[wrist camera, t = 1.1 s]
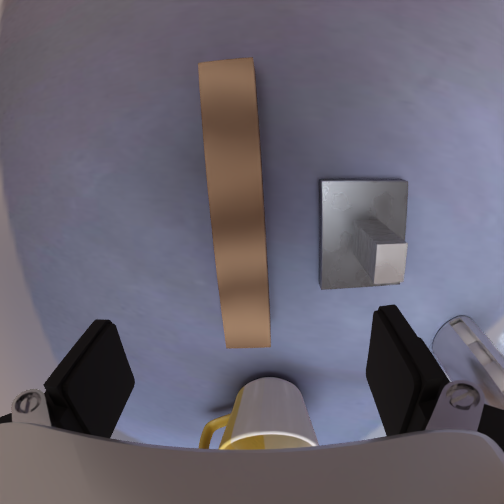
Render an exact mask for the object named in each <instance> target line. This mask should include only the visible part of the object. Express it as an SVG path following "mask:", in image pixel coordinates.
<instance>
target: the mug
mask: <svg viewBox="0 0 504 504" xmlns="http://www.w3.org/2000/svg"><path fill="white" fill-rule="evenodd" d="M224 426H226V429H225V432H224V434H223V437H222V440H221V443H220V446H219V449H224V450H257V449H284V448H299V447H311V446H319V444H318V440H317V437H316V435H315V432H314V429H313V426H312V423H311V420H310V417H309V414H308V412H307V409H306V406H305V403H304V400H303V397H302V394H301V392H300V390H299V389H298V388H297V387H296V386H295V385H294V384H292V383H290V382H288V381H286V380H283V379H280V378H276V377H264V378H260V379H257V380H254V381H251V382H249V383H248V384H246V385H245V386H244V387H243V388H242V389H241V390H240V391H239V393H238V394H237V397H236V400H235V403H234V406H233V409H232V412H231V413H230V414H228V415H225V416H222V417H219V418H216V419H214V420H212V421H210V422H208V423H207V424H206V425H205V427H204V429H203V432H202V435H201V438H200V443H199V449H209V444H210V440H211V437H212V435H213V433H214V431H215V430H217V429H219V428H221V427H224Z"/></svg>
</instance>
